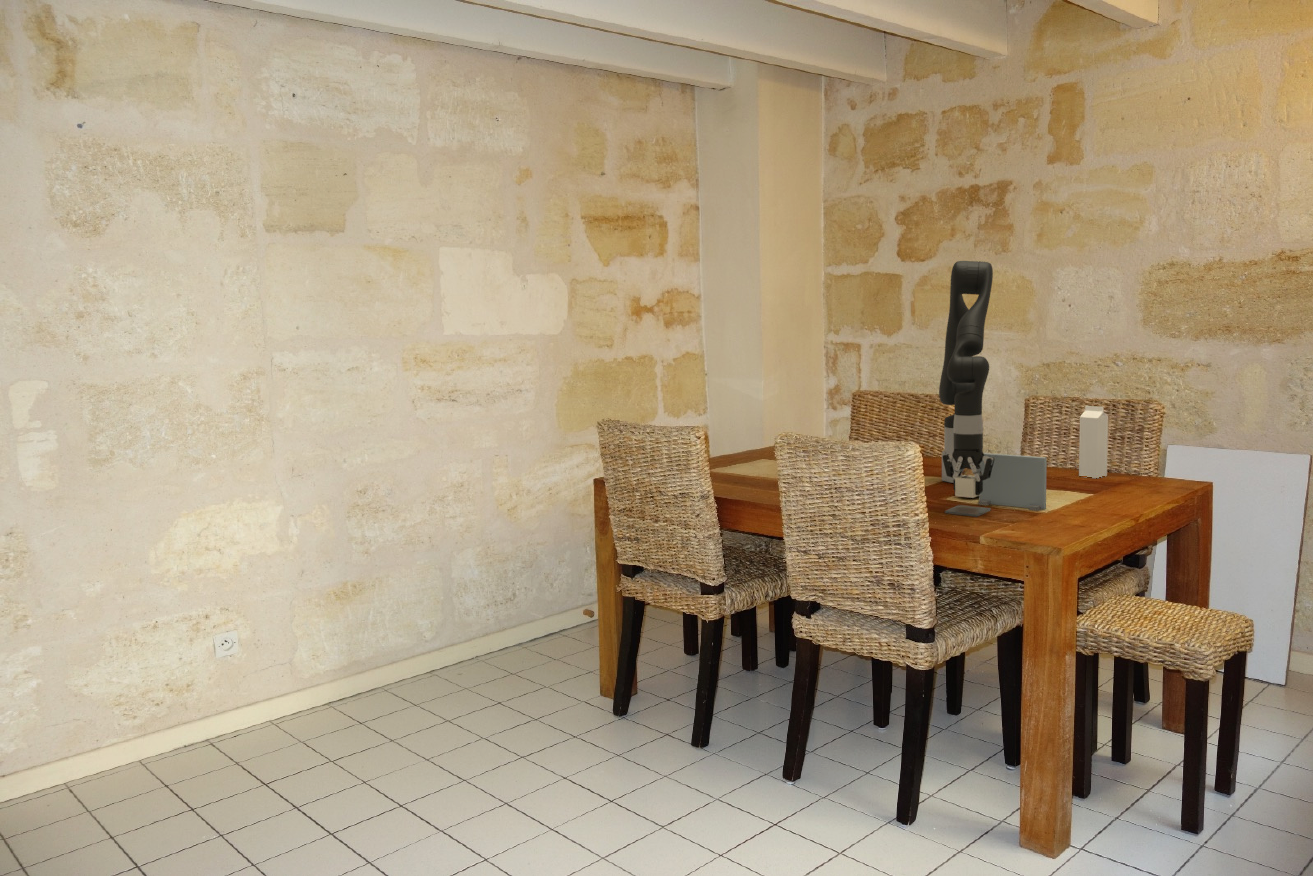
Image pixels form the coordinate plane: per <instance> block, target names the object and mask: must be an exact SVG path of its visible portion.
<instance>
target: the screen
mask: <svg viewBox="0 0 1313 876" xmlns="http://www.w3.org/2000/svg"><path fill="white" fill-rule="evenodd" d="M983 453H984V456H987V457H993V458H994V459H995V460H994V464H993V468H992V472H991V476H990V478H988V479H986V480H983V492H982V493H981V495H979V496H978V506H979V505H981V506H989V505H997V506H1007V507H1017V508H1025V509H1027V508H1028V510H1029V511H1036V512H1038V511H1041V510H1047V461H1048V460H1047V458H1048V457H1045V456H1031V455H1020V454H1019V455H1016V454H1006V453H1005V454H1004V453H1003V454H1002V453H988V452H983ZM980 466H981V468H982V474H983V472H984V468H985V464H984V460H982V462H981V463H980Z"/></svg>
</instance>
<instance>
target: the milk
mask: <svg viewBox="0 0 1313 876" xmlns="http://www.w3.org/2000/svg"><path fill="white" fill-rule="evenodd" d="M1108 438H1109V416H1108V414H1106V412H1104V406H1096V405H1095V406H1094V405H1085V406H1084V411H1083V413H1081V415H1080V416H1079V445H1078V446H1079V447H1078V448H1079V449H1078V450H1079V451H1078V456H1079V457H1078V459H1079V460H1078V461H1079V462H1078V464H1079V465H1078V477H1079V476H1087V477H1092V478H1091V479H1096V478H1097V479H1100V478H1099V477H1101V478H1103V477H1102V476H1105V477H1107V476H1108V451H1109V450H1108V447H1109V446H1108V445H1109V443H1108V442H1109V440H1108ZM1087 477H1086V478H1087Z"/></svg>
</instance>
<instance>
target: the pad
mask: <svg viewBox="0 0 1313 876" xmlns="http://www.w3.org/2000/svg"><path fill="white" fill-rule="evenodd" d="M991 510H992V508H991V507H982V506H974V505H973V506H972V505H964V504H957V505H955V506H954V507H951V508H948V509H946V510H944V513H945V514H952V515H957V516H959V515H960V516H966V517H967V516H969V517H976V518H978V517H980V516H982V515H984V514H986V513H988V512H990V511H991Z"/></svg>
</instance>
